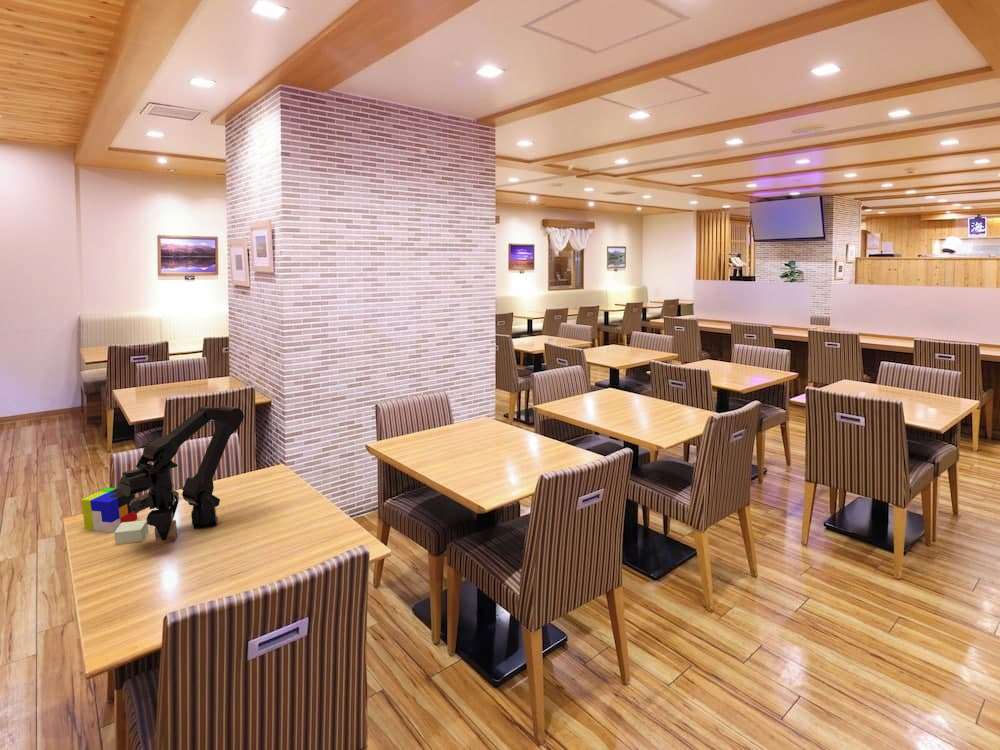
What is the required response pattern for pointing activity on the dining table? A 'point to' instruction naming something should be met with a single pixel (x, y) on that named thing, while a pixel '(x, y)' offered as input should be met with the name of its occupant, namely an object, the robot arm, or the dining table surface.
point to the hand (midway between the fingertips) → (166, 533)
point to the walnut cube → (171, 535)
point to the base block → (131, 532)
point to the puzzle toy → (107, 510)
